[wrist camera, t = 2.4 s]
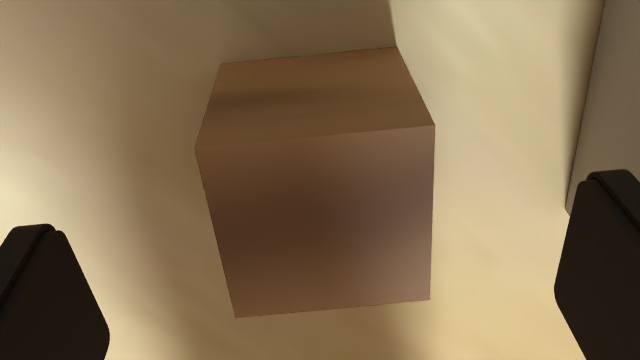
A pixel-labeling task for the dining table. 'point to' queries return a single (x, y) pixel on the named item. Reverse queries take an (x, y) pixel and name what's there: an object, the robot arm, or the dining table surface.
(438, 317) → the dining table surface
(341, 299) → the cube
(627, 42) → the tote
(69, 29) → the dining table surface
